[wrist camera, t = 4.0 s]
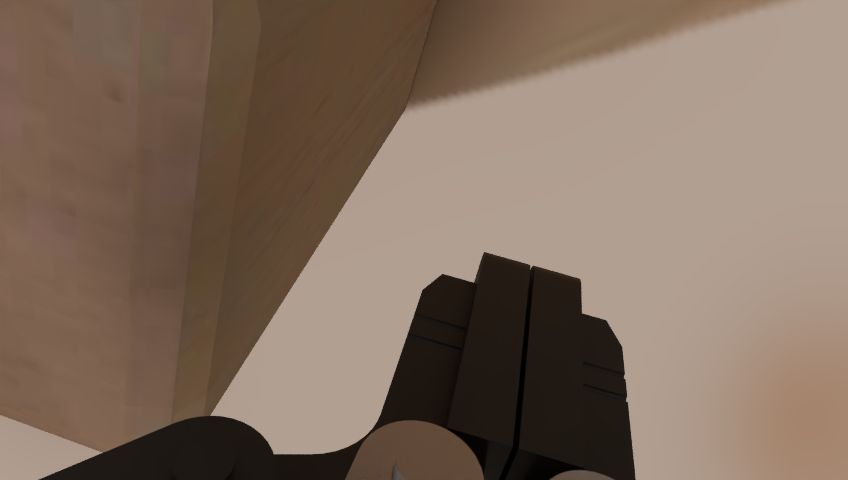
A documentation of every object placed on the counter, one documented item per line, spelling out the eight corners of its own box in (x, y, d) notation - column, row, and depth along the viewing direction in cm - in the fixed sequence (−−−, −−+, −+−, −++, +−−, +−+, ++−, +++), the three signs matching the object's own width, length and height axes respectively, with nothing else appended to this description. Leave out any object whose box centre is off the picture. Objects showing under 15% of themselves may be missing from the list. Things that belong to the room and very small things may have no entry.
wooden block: (194, 46, 29) (-326, 320, 12) (218, -215, 23) (-665, -373, 7) (403, 122, 29) (170, 502, 12) (476, -123, 23) (236, -48, 7)
